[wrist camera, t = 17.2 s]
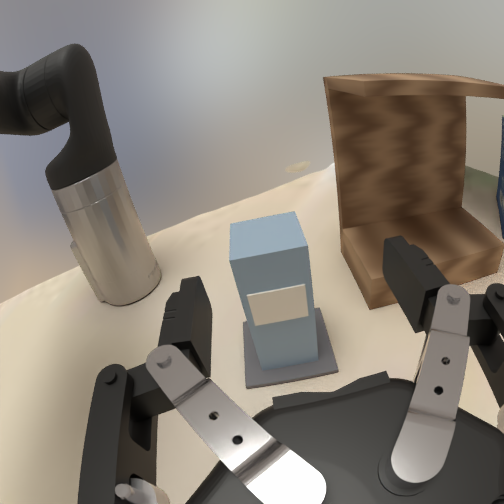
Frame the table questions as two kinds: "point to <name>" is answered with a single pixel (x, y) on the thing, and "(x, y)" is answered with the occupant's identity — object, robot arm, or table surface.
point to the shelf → (406, 174)
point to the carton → (275, 288)
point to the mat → (289, 373)
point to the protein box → (501, 183)
